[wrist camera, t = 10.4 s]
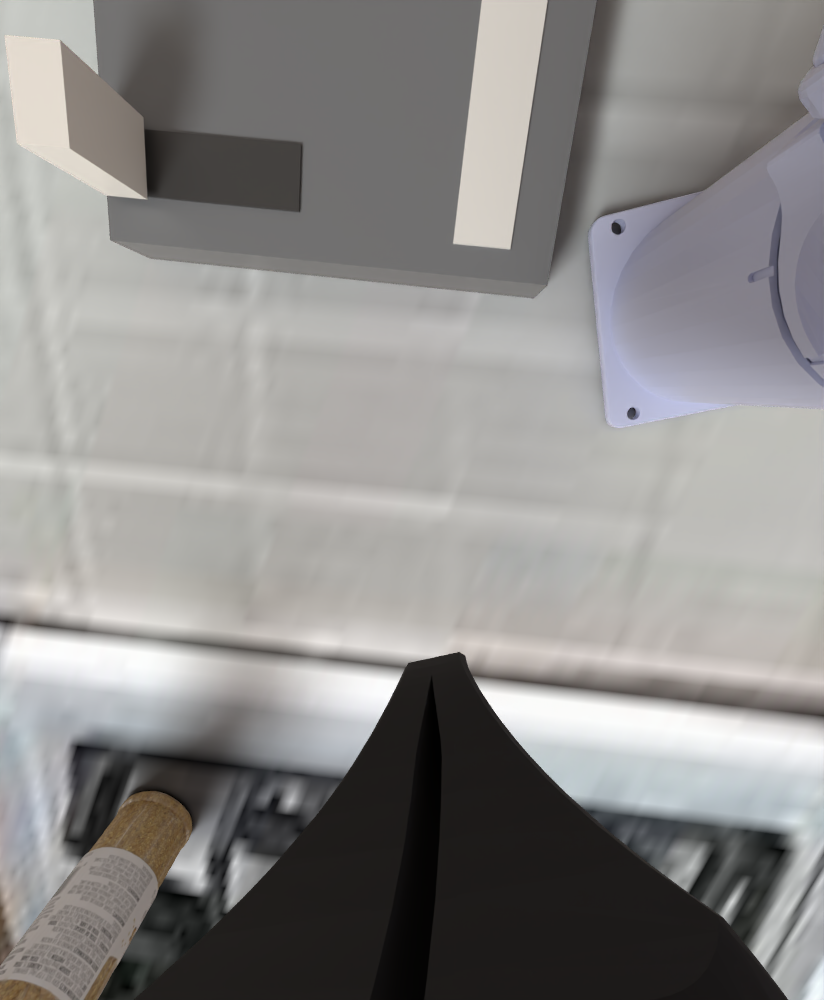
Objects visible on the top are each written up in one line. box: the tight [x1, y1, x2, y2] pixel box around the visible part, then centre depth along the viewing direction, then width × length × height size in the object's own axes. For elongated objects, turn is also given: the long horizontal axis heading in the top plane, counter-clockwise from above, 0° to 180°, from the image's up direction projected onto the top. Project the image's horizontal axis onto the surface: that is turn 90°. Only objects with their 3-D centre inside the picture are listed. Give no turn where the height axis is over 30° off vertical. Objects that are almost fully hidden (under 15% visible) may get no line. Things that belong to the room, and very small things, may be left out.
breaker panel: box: [93, 0, 597, 298], centre depth 15 cm, size 16×12×2 cm
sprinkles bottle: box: [0, 791, 192, 1000], centre depth 19 cm, size 5×5×13 cm
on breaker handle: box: [5, 35, 147, 199], centre depth 13 cm, size 2×2×3 cm, turn 174°
